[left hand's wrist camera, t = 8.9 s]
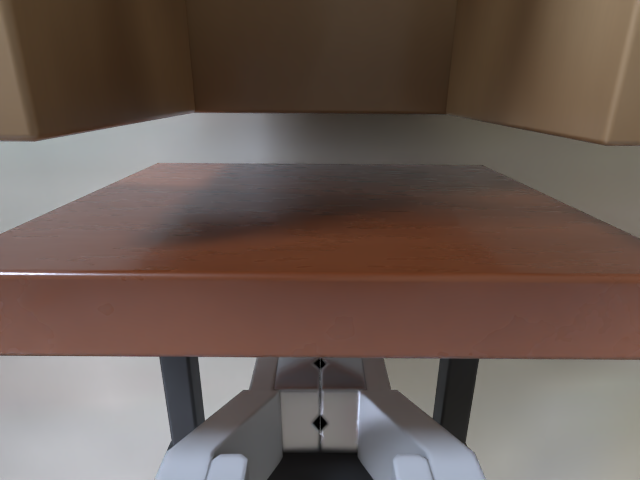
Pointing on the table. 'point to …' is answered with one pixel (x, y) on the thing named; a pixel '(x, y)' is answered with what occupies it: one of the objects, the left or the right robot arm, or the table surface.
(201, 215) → the drawer
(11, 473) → the table surface
